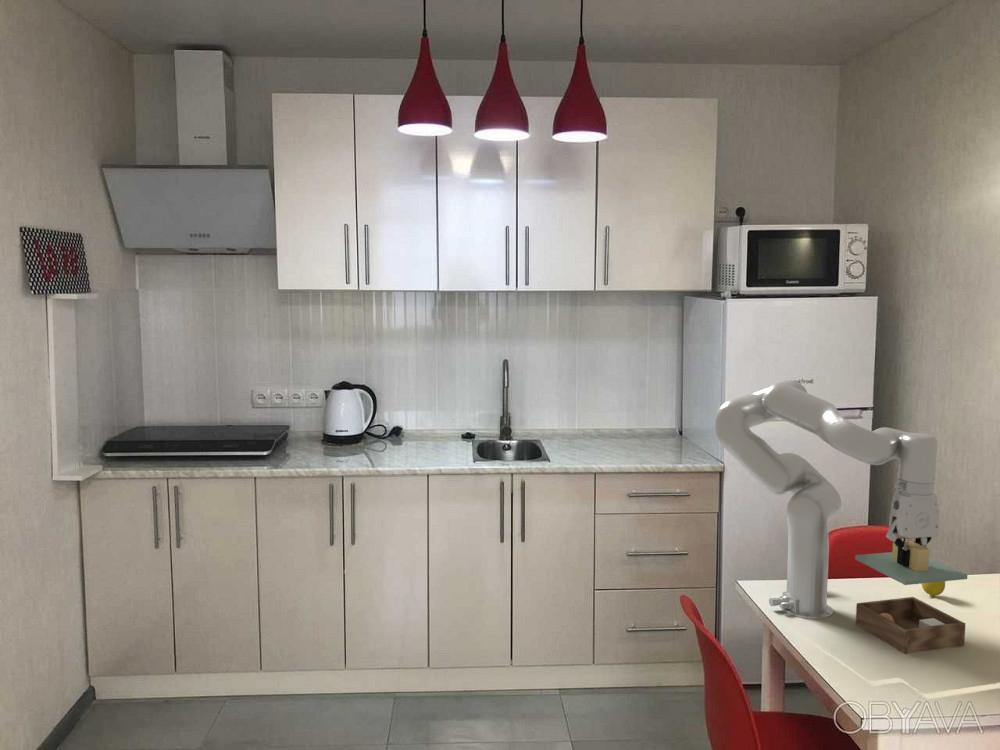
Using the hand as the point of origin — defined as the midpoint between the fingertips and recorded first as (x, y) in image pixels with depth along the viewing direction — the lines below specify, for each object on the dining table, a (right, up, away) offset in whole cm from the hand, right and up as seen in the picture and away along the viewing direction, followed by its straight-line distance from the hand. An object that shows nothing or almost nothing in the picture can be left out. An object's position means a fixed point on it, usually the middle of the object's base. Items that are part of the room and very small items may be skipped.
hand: (909, 563), depth 183 cm
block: (+5, -17, -1) cm, 18 cm away
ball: (-4, -17, +4) cm, 18 cm away
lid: (0, -1, 0) cm, 1 cm away
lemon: (+19, -15, +26) cm, 36 cm away
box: (0, -18, +2) cm, 18 cm away
